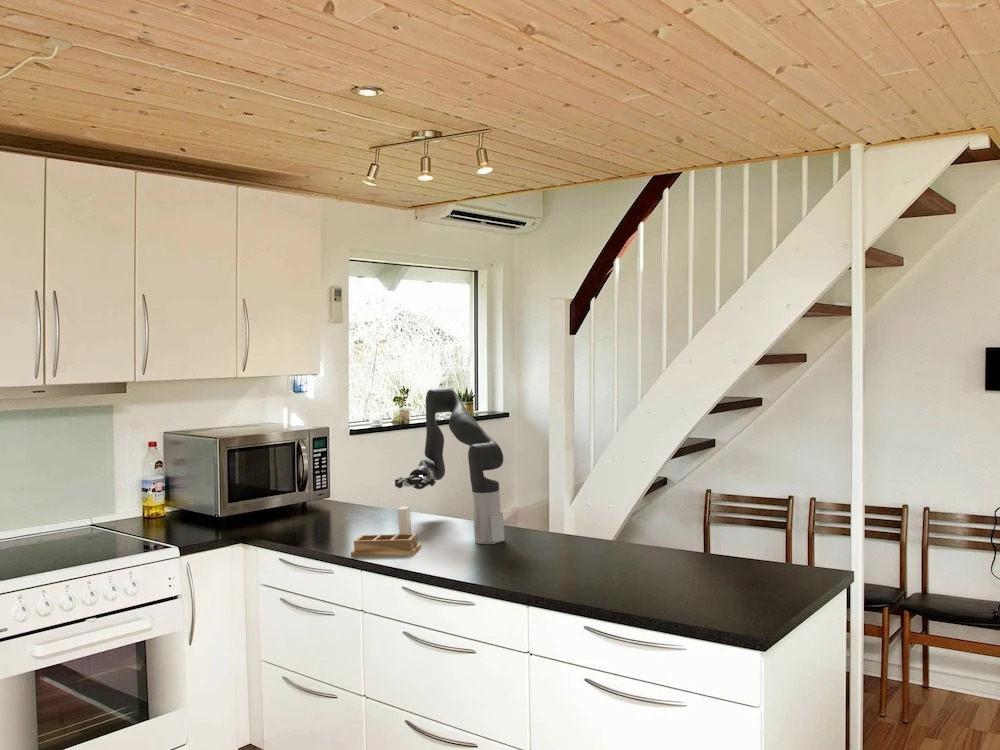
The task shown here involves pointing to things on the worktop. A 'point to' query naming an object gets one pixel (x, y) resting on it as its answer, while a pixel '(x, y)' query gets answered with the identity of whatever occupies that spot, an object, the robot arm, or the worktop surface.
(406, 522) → the pale wooden block
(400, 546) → the wooden compartment tray
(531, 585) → the worktop surface
